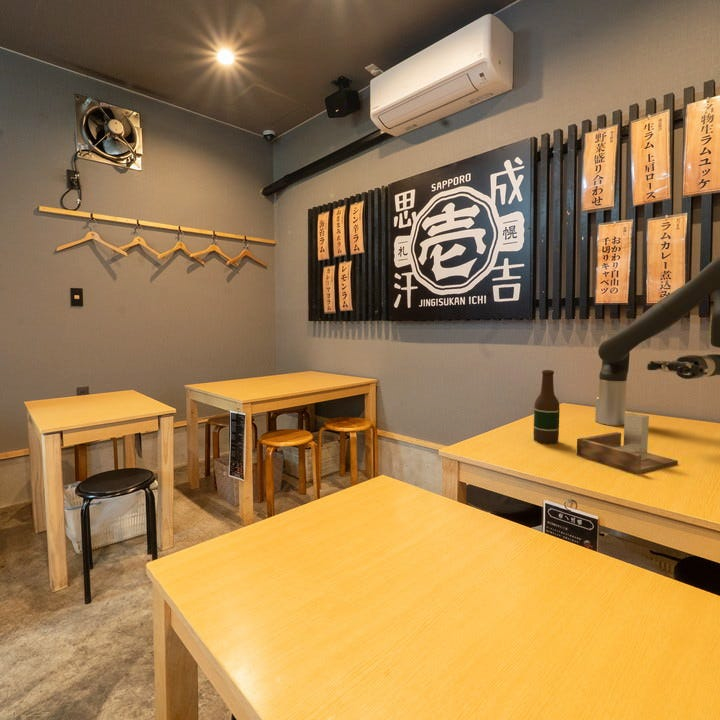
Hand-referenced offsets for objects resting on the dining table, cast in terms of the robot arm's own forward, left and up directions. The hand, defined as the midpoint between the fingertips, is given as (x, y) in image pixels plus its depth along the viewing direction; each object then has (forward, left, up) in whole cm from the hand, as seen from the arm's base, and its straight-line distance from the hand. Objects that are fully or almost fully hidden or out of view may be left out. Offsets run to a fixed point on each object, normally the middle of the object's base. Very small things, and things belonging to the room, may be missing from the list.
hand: (663, 368), depth 130 cm
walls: (+1, -18, -26) cm, 31 cm away
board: (+1, -18, -26) cm, 31 cm away
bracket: (+2, -18, -25) cm, 30 cm away
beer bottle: (-23, -23, -26) cm, 41 cm away
